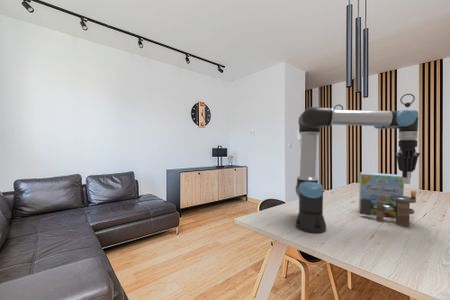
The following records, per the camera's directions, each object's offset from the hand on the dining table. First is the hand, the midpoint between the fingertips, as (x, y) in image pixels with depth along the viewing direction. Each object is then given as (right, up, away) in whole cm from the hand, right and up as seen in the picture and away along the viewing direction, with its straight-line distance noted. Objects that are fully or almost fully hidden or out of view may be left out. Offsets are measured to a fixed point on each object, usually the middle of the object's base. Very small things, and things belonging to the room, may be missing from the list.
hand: (406, 183), depth 110 cm
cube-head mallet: (-4, -21, +9) cm, 23 cm away
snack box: (+1, -23, +20) cm, 30 cm away
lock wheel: (+2, -10, +4) cm, 11 cm away
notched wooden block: (-2, -23, +7) cm, 24 cm away
